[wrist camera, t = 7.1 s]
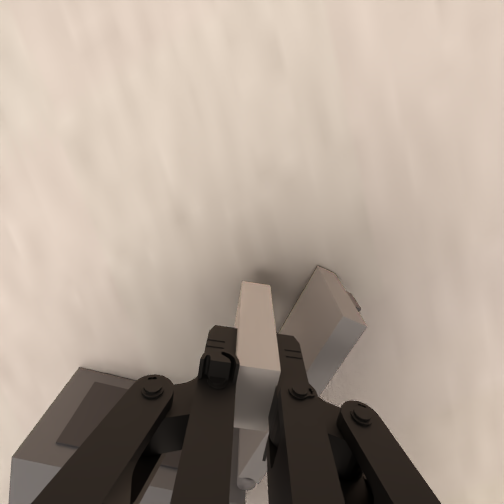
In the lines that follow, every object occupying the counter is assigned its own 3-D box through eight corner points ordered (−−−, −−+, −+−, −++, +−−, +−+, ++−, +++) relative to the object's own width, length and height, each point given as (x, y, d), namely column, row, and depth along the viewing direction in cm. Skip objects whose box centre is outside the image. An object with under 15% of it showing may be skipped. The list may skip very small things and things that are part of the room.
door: (237, 404, 22) (232, 486, 17) (317, 265, 19) (343, 315, 14) (258, 412, 23) (260, 495, 17) (342, 276, 19) (377, 330, 14)
